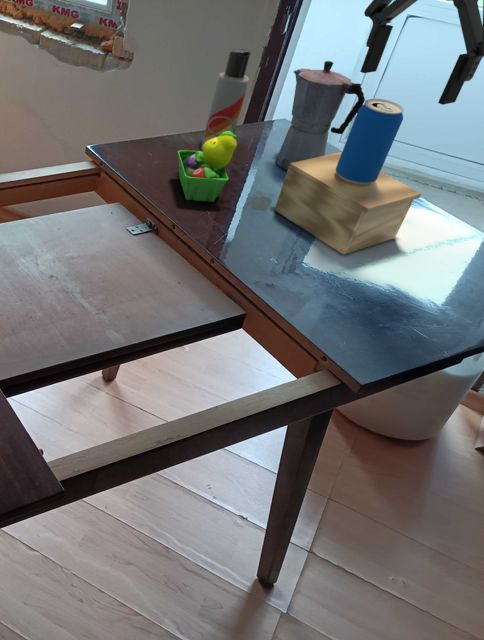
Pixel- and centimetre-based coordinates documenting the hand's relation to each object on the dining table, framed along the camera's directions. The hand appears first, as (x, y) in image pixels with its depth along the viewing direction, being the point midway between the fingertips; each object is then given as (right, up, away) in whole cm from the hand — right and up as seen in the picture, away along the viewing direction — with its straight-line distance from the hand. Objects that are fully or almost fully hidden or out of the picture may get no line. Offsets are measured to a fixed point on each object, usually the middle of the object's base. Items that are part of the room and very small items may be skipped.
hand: (405, 86), depth 101 cm
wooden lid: (-2, -11, +12) cm, 17 cm away
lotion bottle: (-17, +2, +39) cm, 43 cm away
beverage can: (-2, -11, +12) cm, 16 cm away
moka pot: (-1, -2, +36) cm, 36 cm away
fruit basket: (-23, -9, +26) cm, 36 cm away
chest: (-3, -17, +18) cm, 25 cm away
